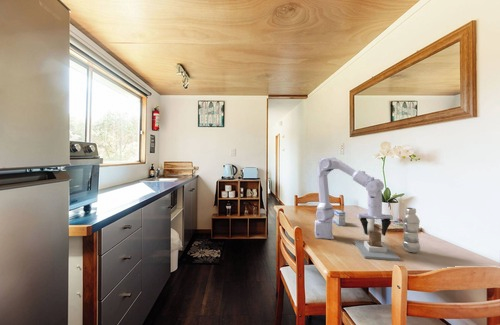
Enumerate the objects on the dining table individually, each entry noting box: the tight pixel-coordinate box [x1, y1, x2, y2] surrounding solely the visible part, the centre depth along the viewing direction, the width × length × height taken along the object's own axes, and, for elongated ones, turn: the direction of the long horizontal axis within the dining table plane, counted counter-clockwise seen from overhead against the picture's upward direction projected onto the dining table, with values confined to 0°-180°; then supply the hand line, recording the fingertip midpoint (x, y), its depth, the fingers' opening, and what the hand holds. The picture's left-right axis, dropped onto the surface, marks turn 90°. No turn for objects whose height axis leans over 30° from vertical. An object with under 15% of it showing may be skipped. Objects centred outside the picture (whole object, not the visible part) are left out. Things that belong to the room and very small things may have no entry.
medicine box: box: [332, 209, 346, 227], centre depth 144 cm, size 8×4×9 cm, turn 5°
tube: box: [366, 219, 376, 236], centre depth 133 cm, size 5×5×25 cm
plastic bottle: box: [401, 207, 421, 254], centre depth 101 cm, size 6×7×20 cm
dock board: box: [353, 240, 402, 262], centre depth 103 cm, size 14×18×3 cm
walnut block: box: [368, 230, 382, 247], centre depth 103 cm, size 4×4×8 cm
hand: (374, 234), depth 103 cm, fingers open, 7 cm apart
